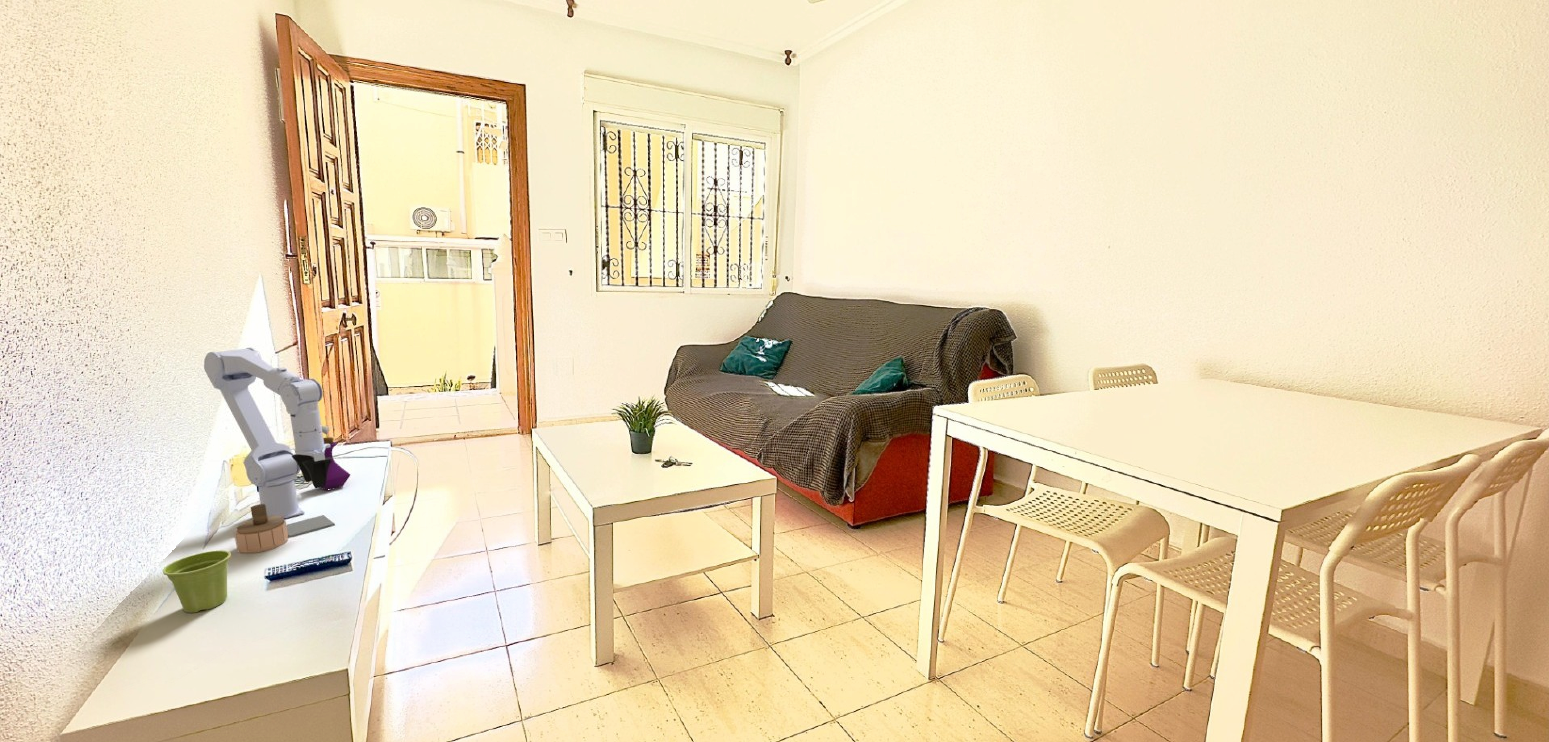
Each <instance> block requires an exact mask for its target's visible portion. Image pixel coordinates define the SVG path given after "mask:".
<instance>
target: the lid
mask: <svg viewBox="0 0 1549 742" xmlns="http://www.w3.org/2000/svg"><path fill="white" fill-rule="evenodd" d="M250 511H251V512H250V514H251V518H252V519H250V520H248V521H245V522H243V523H240V524H239V525H238V526H237V527H236V530H237V532H238V533H240V534H253V533H259V532H264V531H267V530H271V529H274V528H276V527H278V526H280V525H282V524H283V523H284V520H285V519H284V517H282V516H267V512H266V506H265V504H261V503H259V504H255V505H252V506H251V507H250Z"/></svg>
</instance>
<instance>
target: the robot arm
mask: <svg viewBox="0 0 1549 742" xmlns="http://www.w3.org/2000/svg"><path fill="white" fill-rule="evenodd" d="M203 370H204V372H205V374H206V375H207V378H208V379H209V381H210V383H211V385H212V387H213V388H214V389H216V390H219V391H220V393H221V395H222V397H223V399H224V401H225V403H226V405H227V407H228V408H229V410H230V412H231V414H232V417H233V418H234V419H235V421H236V423H237V425H238V427H239V429H240V431H241V434H242V435H243V436H244V438H245V440H246V442H247V444H248V447H249V448H250V450H251V451H250V452H248V454H247V455H246V457H245V458H244V460H243V464H244V468H245V471H246V472H245V473H246V476H247V479H248V480H249V482H250V483H251V484H252V485H254V486H255V487H258V495H259V502H260V503H259V504H265V506H266V512H267V516H282V517H284V518H285V519H289V518H292V517H296V516H300V515H304V514H305V511H304V510H303V509H302V508H300V507H299V502H298V495H297V489H296V482H295V479H297V478H298V475H299V474H300V472H301V475H302V477H303V480H304V481H305V482H306V483H309V482H311V483H312V486H313V487H314V489H319V488H320V487H324V486H326V480H327V472H328V468H329V465H330V463H331V461H332V458H331V457H327V458H325V456H324V451H325V449H326V448H329V447H330V444H324V440H323V438H324V435H323V434H324V433H323V432H322V426H323V425H322V421H321V414H320V407H319V405H320V404H319V402H320V401H321V400H322V399H323V396H324V395H323V394H324V393H323V388H322V386H321V383H320V382H319V381H318V380H316V379H315V378H308V379H307V378H304V379H303V378H302V377H300V376H298V375H296V374H295V373H293V372H291V371H289V370H288V369H287V368H286V367H285V366H281V367H273V366H272V365H270V364H269V363H268V362H266V361H265V360H264V359H262V356H261V353H260V351H258V350H256V349H255V348H253V347H246V348H240V349H239V348H238V349H233V350H231V349H230V350H222V351H210V352H207V353H206V355H205V357H204V361H203ZM256 378H257V379H260V380H262V383H263V386H264V387H265V388H266V389H269V390H270V391H272V392H274V393H275V394H277V395H278V396H280V398H281V401H282V402H283V403H282V404H284V405H285V408H286V412H287V414H289V417H290V423H291V430H292V435H293V436H292V437H293V442H294V448H295V449H294V451H293V449H292V448H291V447H290V445H287V444H285V443H283V442H282V443H281V442H278V441H276V440H275V437H274V436H273V433H272V432H271V429H270V427H269V426H268V424H267V422H266V420H265V419H264V417H263V415H262V413H261V411H260V409H259V407H258V406H257V404H256V402H255V400H254V397H253V396H252V393H251V392H250V390H249V386H250V385H252V384H253V383H255V381H256ZM320 489H321V488H320Z"/></svg>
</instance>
